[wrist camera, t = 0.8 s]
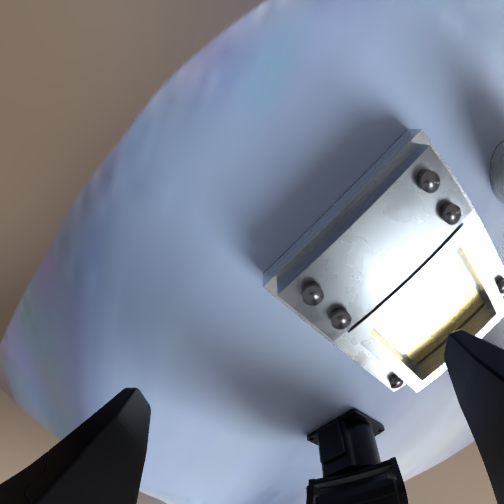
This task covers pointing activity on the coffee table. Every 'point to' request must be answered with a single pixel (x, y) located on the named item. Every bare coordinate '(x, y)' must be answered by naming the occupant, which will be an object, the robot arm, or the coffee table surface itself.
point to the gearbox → (395, 267)
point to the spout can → (498, 172)
